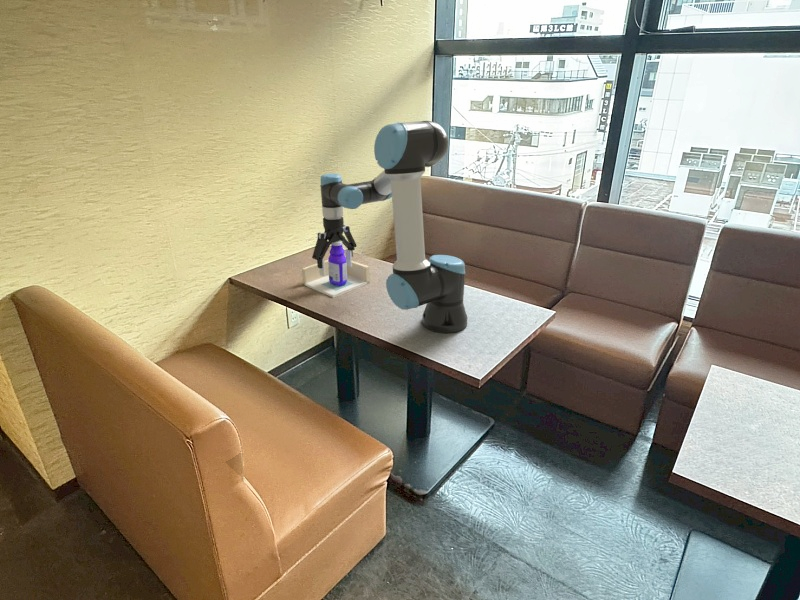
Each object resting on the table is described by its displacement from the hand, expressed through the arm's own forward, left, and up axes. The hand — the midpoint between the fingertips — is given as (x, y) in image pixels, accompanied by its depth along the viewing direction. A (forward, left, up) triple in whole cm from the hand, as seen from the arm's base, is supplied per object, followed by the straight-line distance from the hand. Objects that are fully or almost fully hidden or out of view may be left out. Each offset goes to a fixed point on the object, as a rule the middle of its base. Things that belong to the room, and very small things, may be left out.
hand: (336, 270), depth 195 cm
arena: (+2, -2, -7) cm, 7 cm away
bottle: (0, -1, -6) cm, 6 cm away
